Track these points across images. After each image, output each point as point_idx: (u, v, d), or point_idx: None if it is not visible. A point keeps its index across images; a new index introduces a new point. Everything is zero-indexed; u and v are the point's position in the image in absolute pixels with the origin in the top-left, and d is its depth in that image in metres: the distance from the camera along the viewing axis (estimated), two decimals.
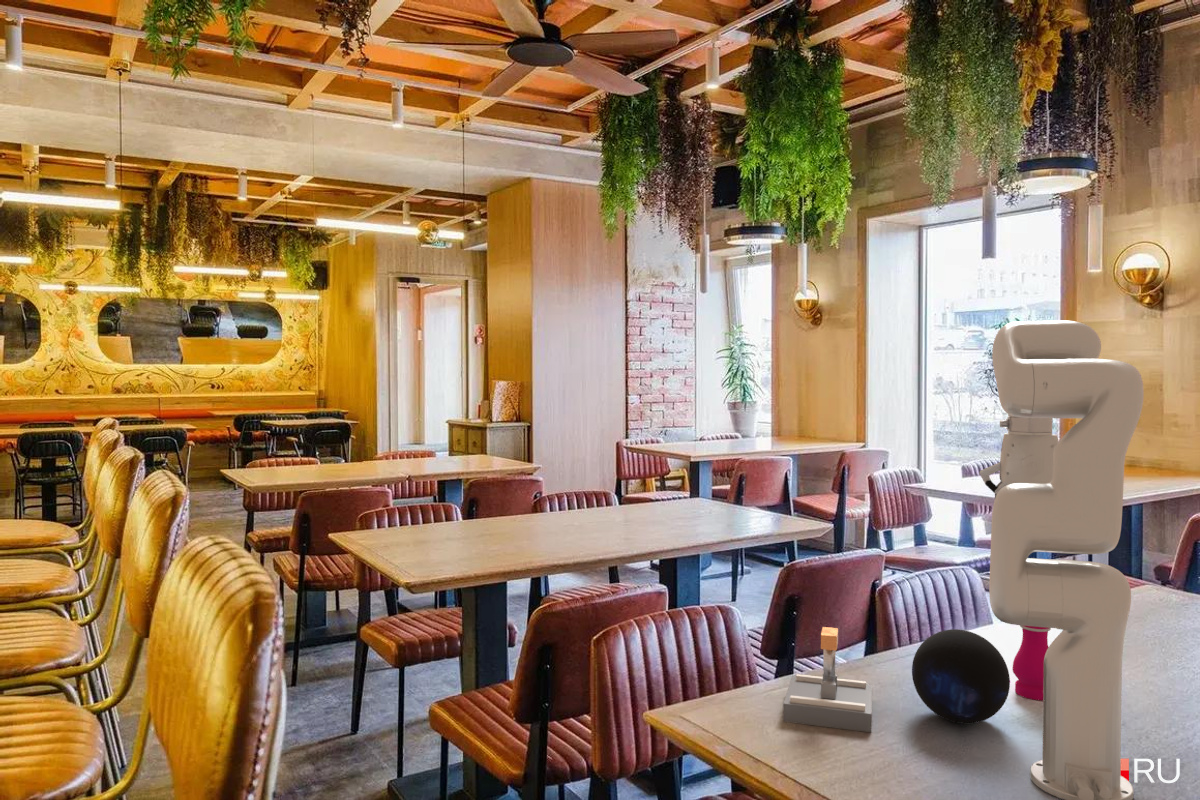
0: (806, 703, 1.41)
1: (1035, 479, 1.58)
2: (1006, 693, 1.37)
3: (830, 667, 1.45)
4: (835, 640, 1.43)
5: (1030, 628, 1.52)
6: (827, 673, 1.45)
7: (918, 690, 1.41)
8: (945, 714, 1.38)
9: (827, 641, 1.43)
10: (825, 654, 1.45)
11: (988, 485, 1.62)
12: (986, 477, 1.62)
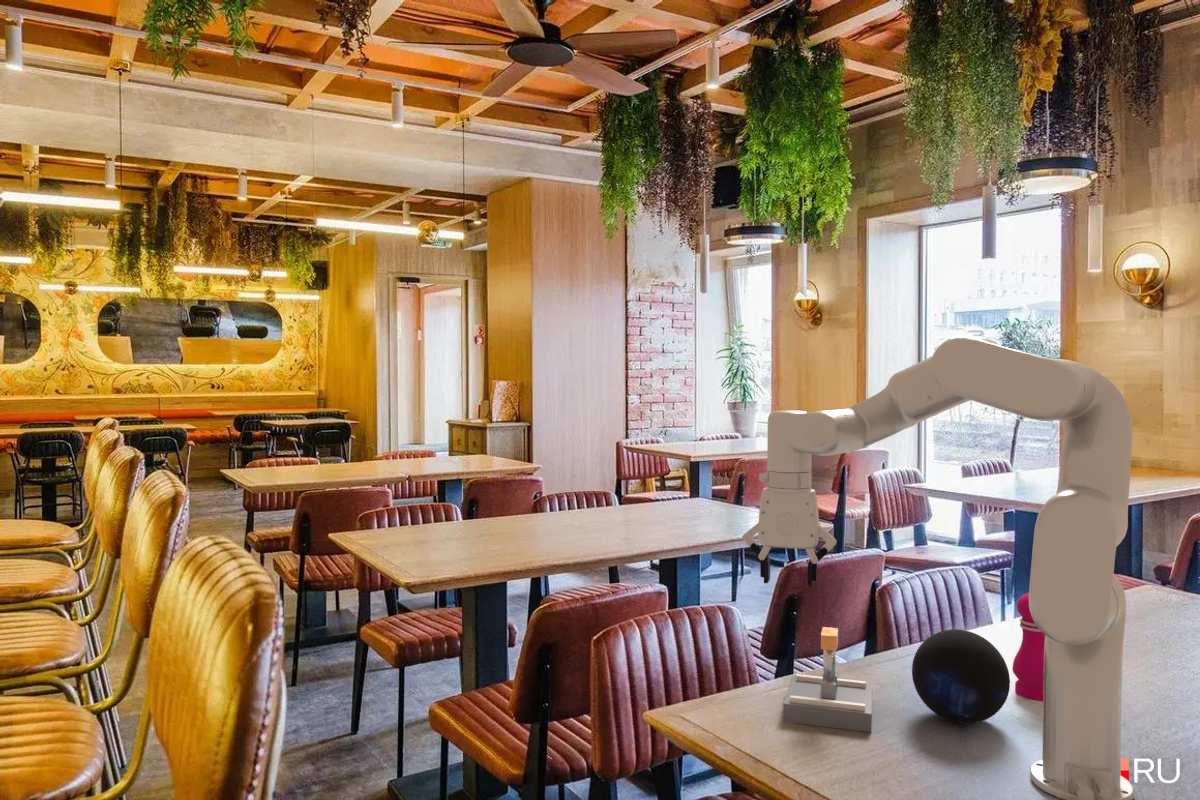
0: (806, 703, 1.41)
1: (790, 539, 1.44)
2: (1006, 693, 1.37)
3: (830, 667, 1.45)
4: (835, 640, 1.43)
5: (1030, 628, 1.52)
6: (827, 673, 1.45)
7: (918, 690, 1.41)
8: (945, 714, 1.38)
9: (827, 641, 1.43)
10: (825, 654, 1.45)
11: (752, 549, 1.48)
12: (749, 541, 1.49)
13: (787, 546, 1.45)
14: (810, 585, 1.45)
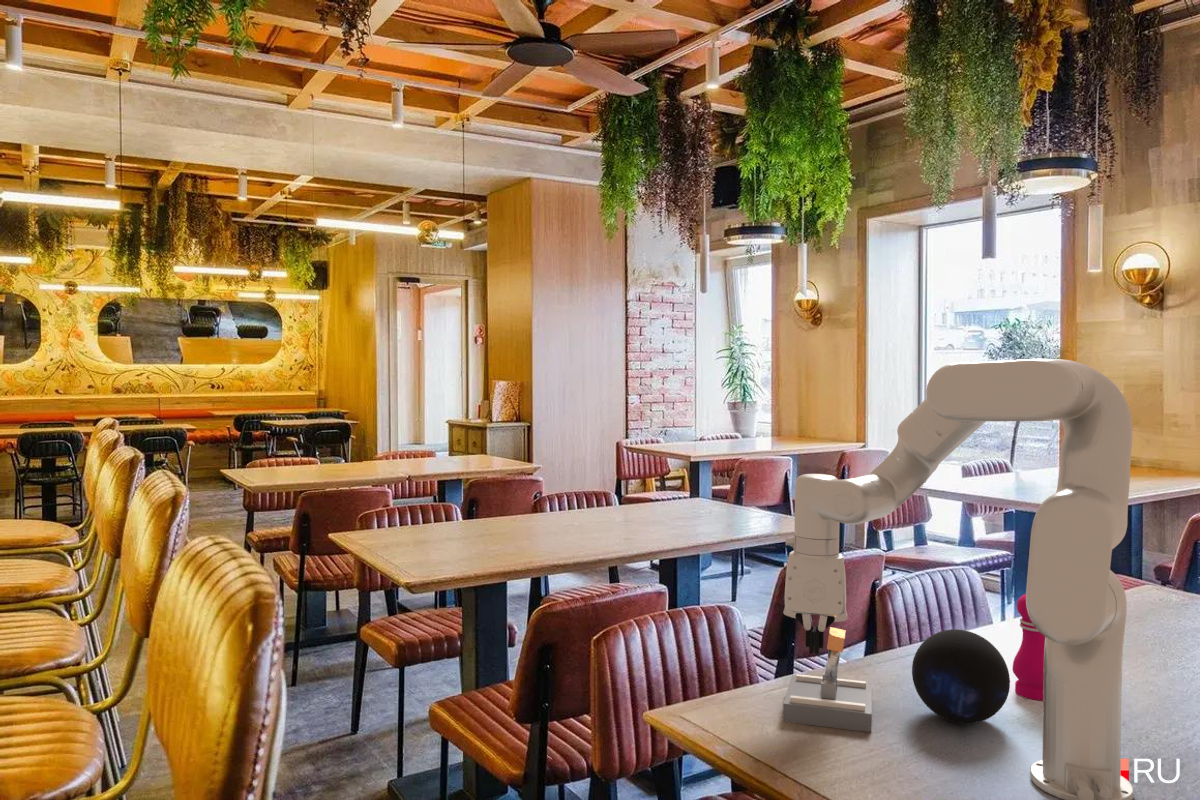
0: (806, 703, 1.41)
1: (817, 606, 1.43)
2: (1006, 693, 1.37)
3: (833, 668, 1.44)
4: (842, 642, 1.42)
5: (1030, 628, 1.52)
6: (829, 673, 1.45)
7: (918, 690, 1.41)
8: (945, 714, 1.38)
9: (834, 642, 1.43)
10: (830, 654, 1.45)
11: (798, 618, 1.46)
12: (792, 613, 1.47)
13: (814, 613, 1.43)
14: (817, 653, 1.45)
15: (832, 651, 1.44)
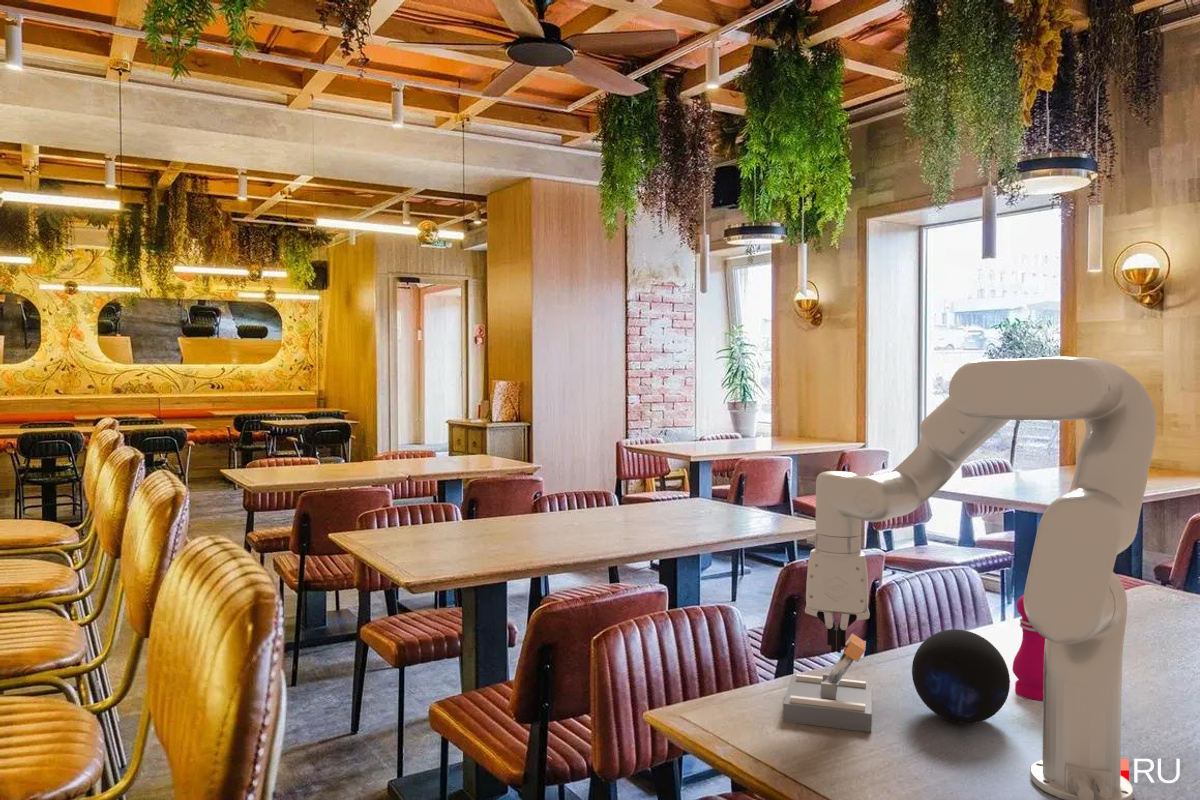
0: (806, 703, 1.41)
1: (840, 604, 1.42)
2: (1006, 693, 1.37)
3: (841, 672, 1.44)
4: (861, 653, 1.41)
5: (1030, 628, 1.52)
6: (835, 675, 1.44)
7: (918, 690, 1.41)
8: (945, 714, 1.38)
9: (853, 650, 1.42)
10: (843, 658, 1.44)
11: (819, 616, 1.45)
12: (813, 611, 1.46)
13: (836, 611, 1.42)
14: (839, 651, 1.43)
15: (846, 656, 1.44)
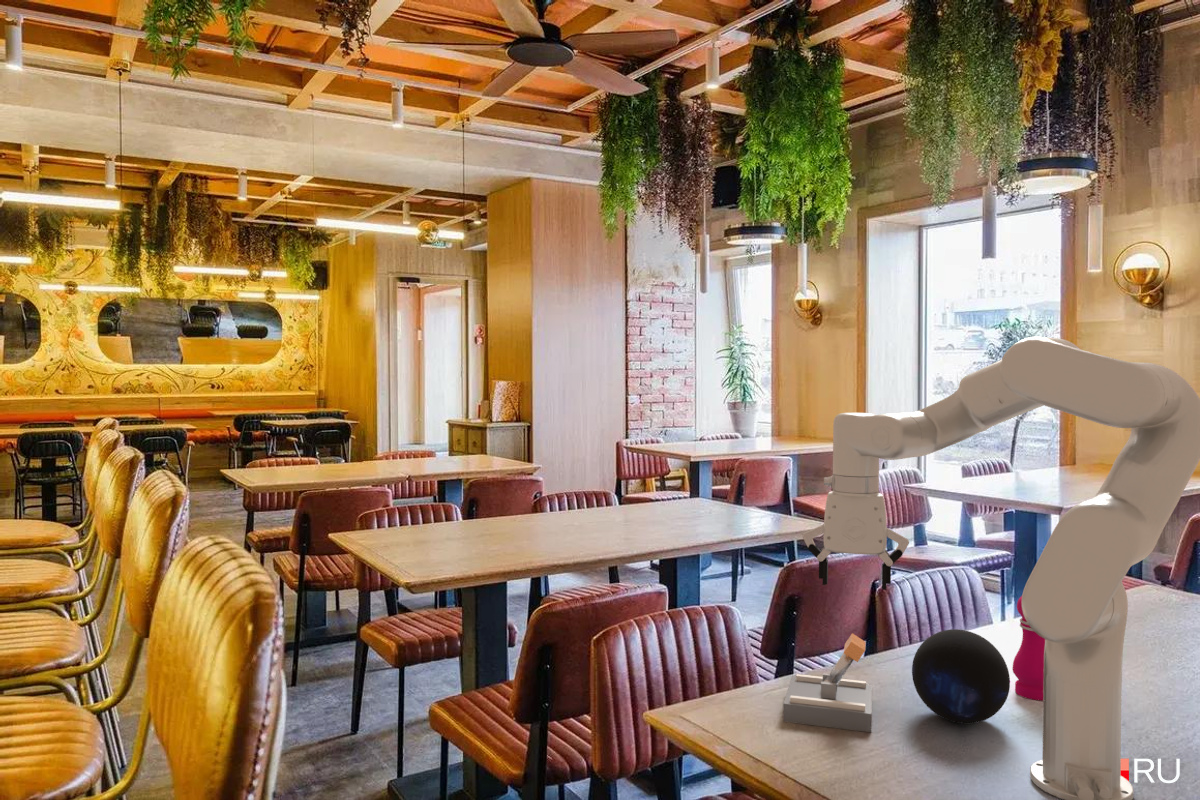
0: (806, 703, 1.41)
1: (858, 545, 1.41)
2: (1006, 693, 1.37)
3: (841, 672, 1.44)
4: (861, 653, 1.41)
5: (1030, 628, 1.52)
6: (835, 675, 1.44)
7: (918, 690, 1.41)
8: (945, 714, 1.38)
9: (853, 650, 1.42)
10: (843, 658, 1.44)
11: (810, 550, 1.45)
12: (809, 541, 1.46)
13: (854, 552, 1.41)
14: (884, 588, 1.41)
15: (846, 656, 1.44)
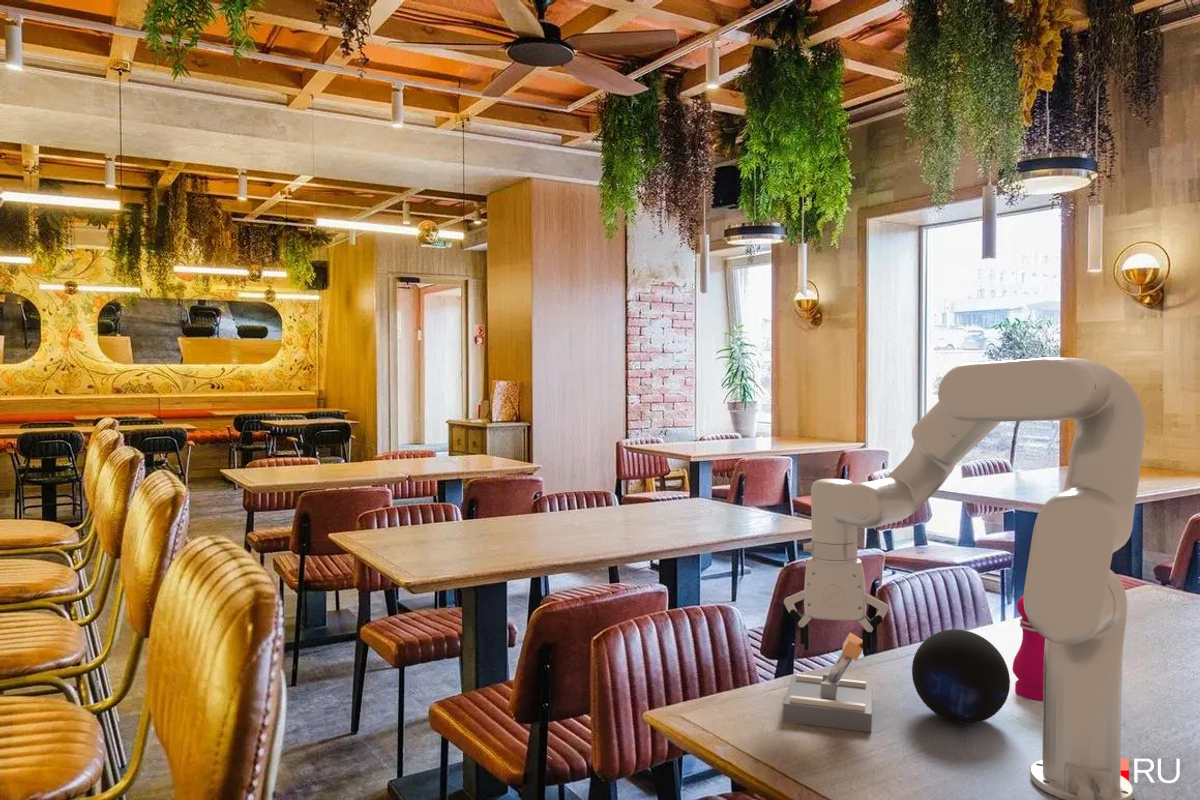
0: (806, 703, 1.41)
1: (837, 612, 1.42)
2: (1006, 693, 1.37)
3: (840, 671, 1.44)
4: (860, 652, 1.41)
5: (1030, 628, 1.52)
6: (835, 675, 1.44)
7: (918, 690, 1.41)
8: (945, 714, 1.38)
9: (852, 649, 1.42)
10: (841, 658, 1.44)
11: (792, 615, 1.47)
12: (790, 606, 1.47)
13: (834, 618, 1.43)
14: (865, 654, 1.42)
15: (845, 656, 1.44)
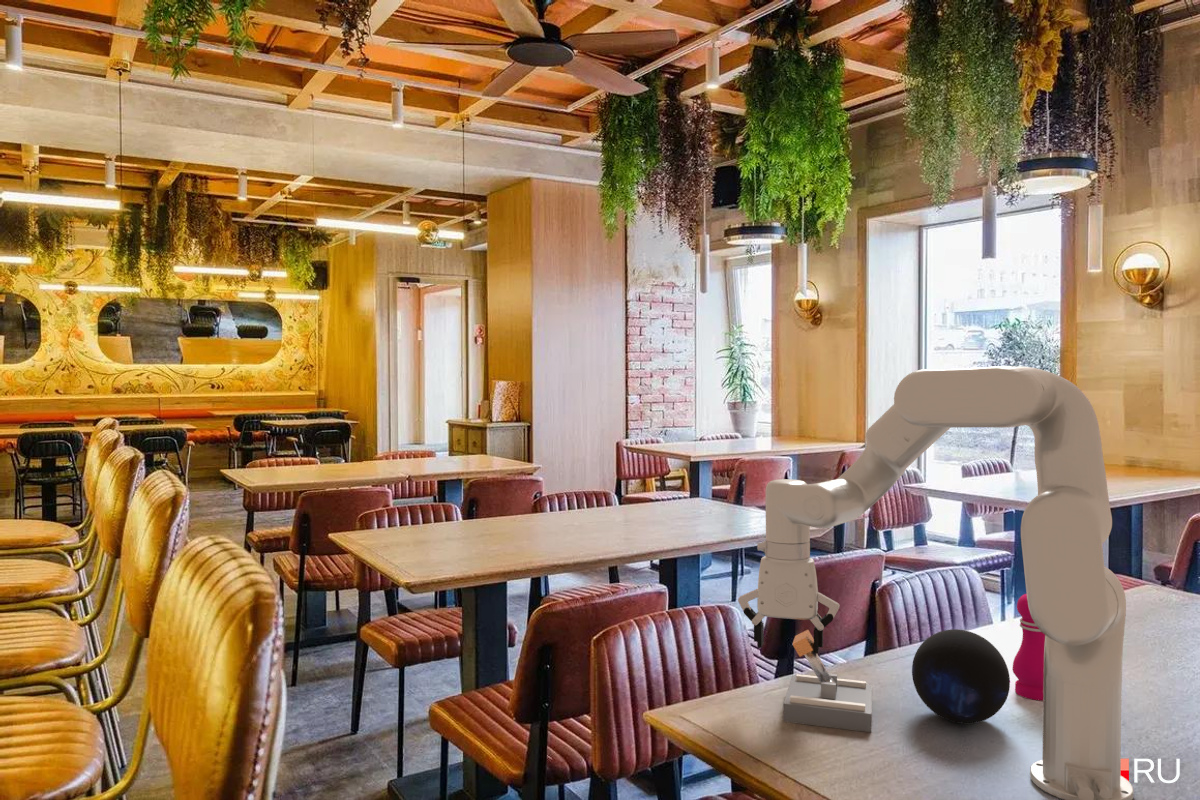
0: (806, 703, 1.41)
1: (789, 610, 1.45)
2: (1006, 693, 1.37)
3: (819, 668, 1.45)
4: (806, 641, 1.44)
5: (1030, 628, 1.52)
6: (820, 675, 1.45)
7: (918, 690, 1.41)
8: (945, 714, 1.38)
9: (801, 646, 1.44)
10: (808, 659, 1.46)
11: (746, 613, 1.49)
12: (744, 604, 1.49)
13: (786, 616, 1.45)
14: (816, 652, 1.45)
15: (807, 655, 1.46)
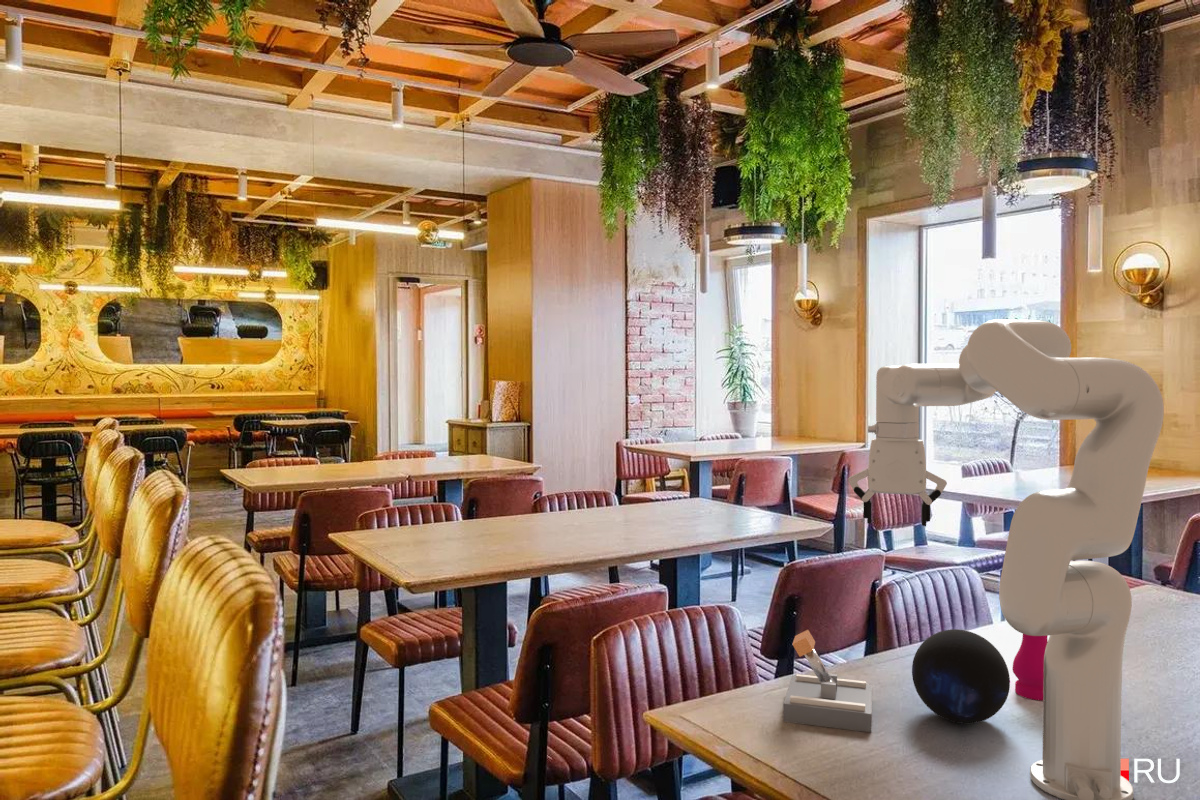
0: (806, 703, 1.41)
1: (900, 486, 1.55)
2: (1006, 693, 1.37)
3: (819, 668, 1.45)
4: (806, 641, 1.44)
5: None
6: (820, 675, 1.45)
7: (918, 690, 1.41)
8: (945, 714, 1.38)
9: (801, 646, 1.44)
10: (808, 659, 1.46)
11: (856, 492, 1.59)
12: (854, 484, 1.59)
13: (897, 492, 1.55)
14: (924, 525, 1.55)
15: (807, 655, 1.46)
